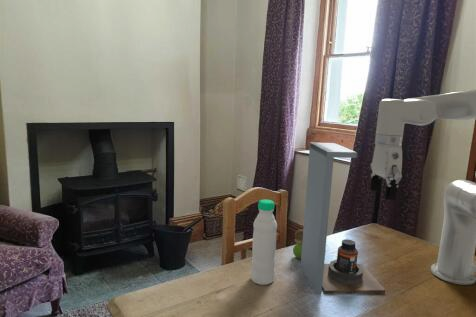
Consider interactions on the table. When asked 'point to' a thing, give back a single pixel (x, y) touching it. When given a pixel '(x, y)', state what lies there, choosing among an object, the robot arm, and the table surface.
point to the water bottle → (264, 244)
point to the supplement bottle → (347, 257)
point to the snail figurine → (298, 243)
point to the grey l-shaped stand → (318, 209)
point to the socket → (349, 281)
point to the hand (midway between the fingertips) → (382, 194)
